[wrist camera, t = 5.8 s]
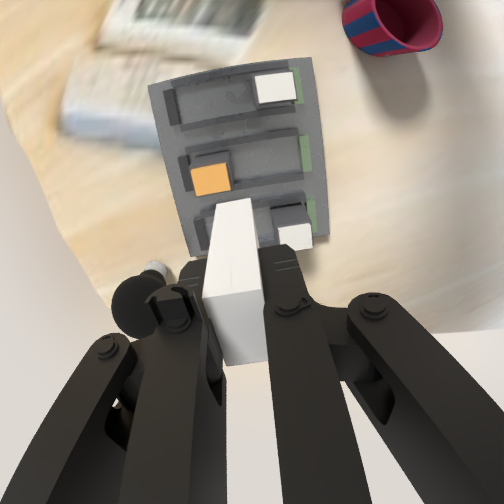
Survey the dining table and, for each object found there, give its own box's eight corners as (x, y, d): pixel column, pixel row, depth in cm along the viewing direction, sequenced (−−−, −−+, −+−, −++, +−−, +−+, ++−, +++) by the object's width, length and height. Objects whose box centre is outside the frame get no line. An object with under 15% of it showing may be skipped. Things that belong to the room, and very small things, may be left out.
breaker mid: (195, 157, 25) (187, 169, 21) (229, 150, 25) (227, 161, 21) (200, 182, 26) (194, 199, 22) (234, 176, 26) (233, 192, 22)
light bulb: (130, 240, 30) (96, 298, 22) (183, 244, 31) (165, 305, 22) (135, 285, 33) (110, 348, 25) (184, 289, 34) (171, 355, 25)
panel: (152, 86, 23) (144, 85, 21) (307, 59, 22) (313, 56, 20) (192, 249, 31) (189, 261, 29) (325, 227, 31) (331, 237, 29)
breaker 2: (270, 209, 28) (276, 229, 24) (302, 203, 28) (313, 223, 24) (273, 232, 29) (279, 255, 25) (304, 227, 29) (315, 249, 25)
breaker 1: (249, 77, 22) (251, 74, 18) (285, 73, 22) (294, 69, 18) (253, 104, 23) (257, 106, 19) (289, 100, 23) (299, 101, 19)
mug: (368, 67, 23) (403, 63, 17) (305, -15, 19) (325, -42, 13) (415, 42, 21) (455, 36, 15) (358, -37, 17) (387, -61, 11)
